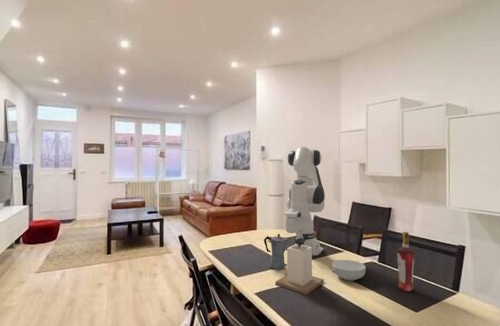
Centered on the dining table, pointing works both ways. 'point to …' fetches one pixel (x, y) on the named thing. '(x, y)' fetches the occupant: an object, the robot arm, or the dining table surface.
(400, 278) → the liquor
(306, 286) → the hollow square stand
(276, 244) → the moka pot
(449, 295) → the dining table surface
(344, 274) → the cereal bowl
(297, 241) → the dark-topped thin piece
